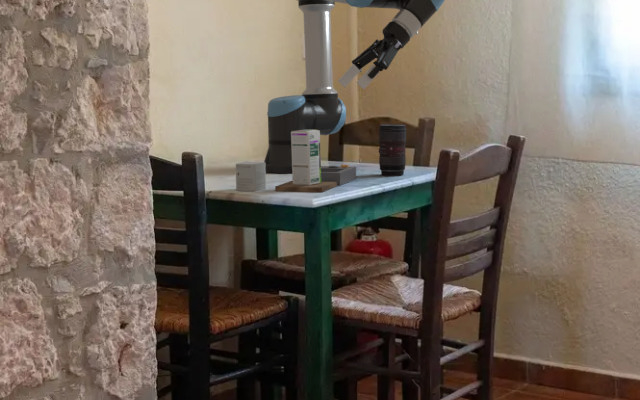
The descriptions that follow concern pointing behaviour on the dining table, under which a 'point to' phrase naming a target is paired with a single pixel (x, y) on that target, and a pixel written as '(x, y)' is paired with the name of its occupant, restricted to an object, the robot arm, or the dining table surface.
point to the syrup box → (306, 157)
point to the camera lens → (392, 149)
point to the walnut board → (306, 187)
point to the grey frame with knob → (338, 174)
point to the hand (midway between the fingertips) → (350, 85)
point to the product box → (250, 176)
